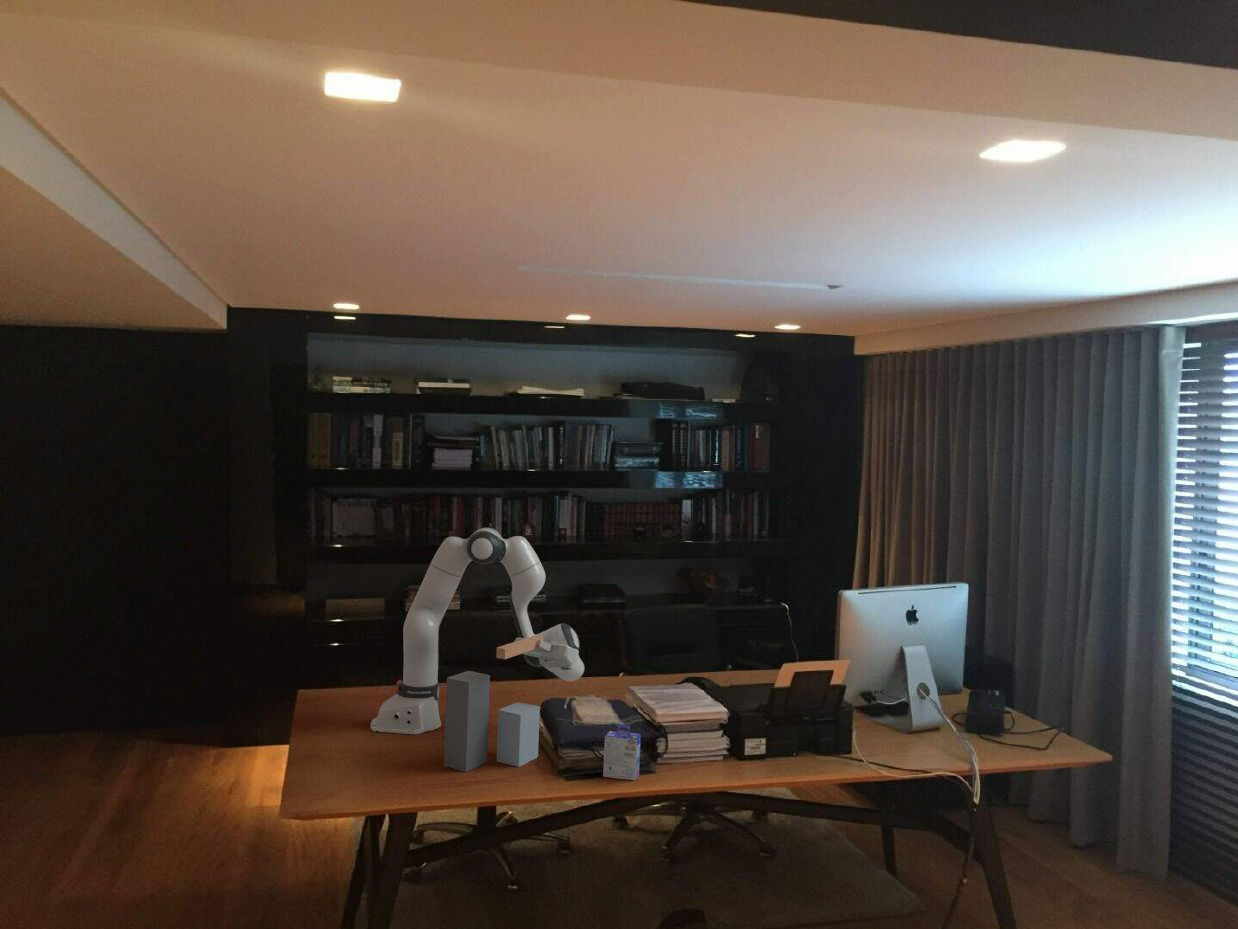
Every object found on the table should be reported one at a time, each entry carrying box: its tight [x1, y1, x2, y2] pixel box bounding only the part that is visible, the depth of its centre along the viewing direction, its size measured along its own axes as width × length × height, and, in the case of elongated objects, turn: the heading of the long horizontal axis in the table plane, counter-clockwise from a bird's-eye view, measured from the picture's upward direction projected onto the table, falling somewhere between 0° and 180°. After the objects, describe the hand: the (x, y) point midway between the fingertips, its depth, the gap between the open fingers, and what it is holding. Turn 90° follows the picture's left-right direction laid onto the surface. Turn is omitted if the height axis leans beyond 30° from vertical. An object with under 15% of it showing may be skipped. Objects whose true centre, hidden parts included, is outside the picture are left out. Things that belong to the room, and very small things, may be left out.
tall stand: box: [443, 670, 491, 773], centre depth 289 cm, size 10×8×26 cm
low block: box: [496, 701, 541, 768], centre depth 295 cm, size 10×8×16 cm
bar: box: [495, 635, 544, 660], centre depth 295 cm, size 20×3×3 cm, turn 151°
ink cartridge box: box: [602, 724, 642, 781], centre depth 285 cm, size 10×6×14 cm, turn 78°
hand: (532, 641), depth 301 cm, fingers closed on bar, 3 cm apart
